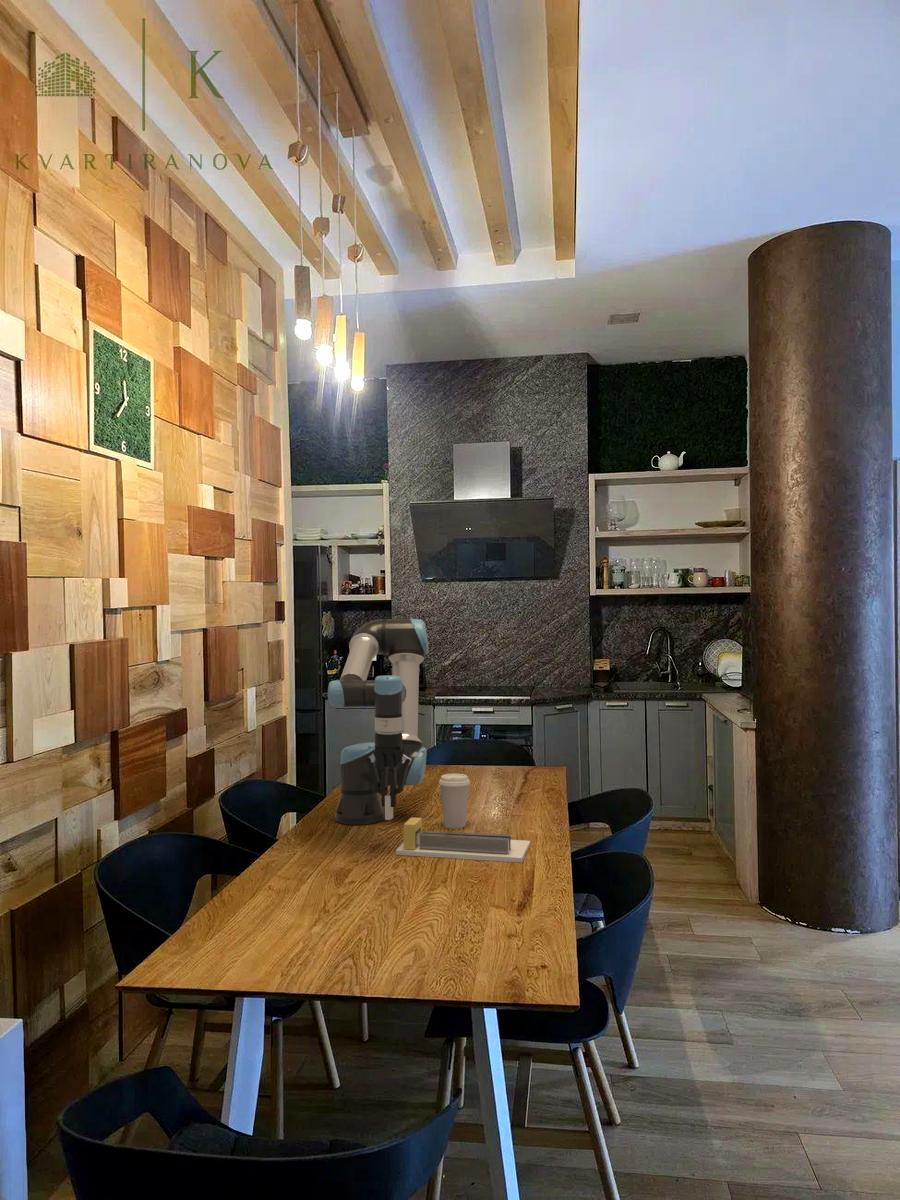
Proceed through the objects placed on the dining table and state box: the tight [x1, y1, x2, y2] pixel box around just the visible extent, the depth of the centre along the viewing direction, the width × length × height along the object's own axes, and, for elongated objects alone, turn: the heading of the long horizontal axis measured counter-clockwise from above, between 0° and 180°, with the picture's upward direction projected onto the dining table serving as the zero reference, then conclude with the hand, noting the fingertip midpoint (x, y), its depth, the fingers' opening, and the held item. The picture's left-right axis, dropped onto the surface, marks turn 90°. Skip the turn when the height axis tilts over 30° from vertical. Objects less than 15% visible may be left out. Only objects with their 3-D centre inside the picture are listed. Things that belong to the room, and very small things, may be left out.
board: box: [395, 839, 531, 863], centre depth 228 cm, size 34×16×1 cm, turn 77°
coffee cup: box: [438, 773, 471, 830], centre depth 253 cm, size 10×10×15 cm
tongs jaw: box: [422, 830, 512, 850], centre depth 226 cm, size 24×2×4 cm, turn 79°
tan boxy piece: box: [403, 817, 423, 849], centre depth 228 cm, size 3×8×6 cm, turn 167°
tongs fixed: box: [415, 830, 509, 854], centre depth 225 cm, size 28×4×4 cm, turn 77°
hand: (389, 818), depth 229 cm, fingers closed
